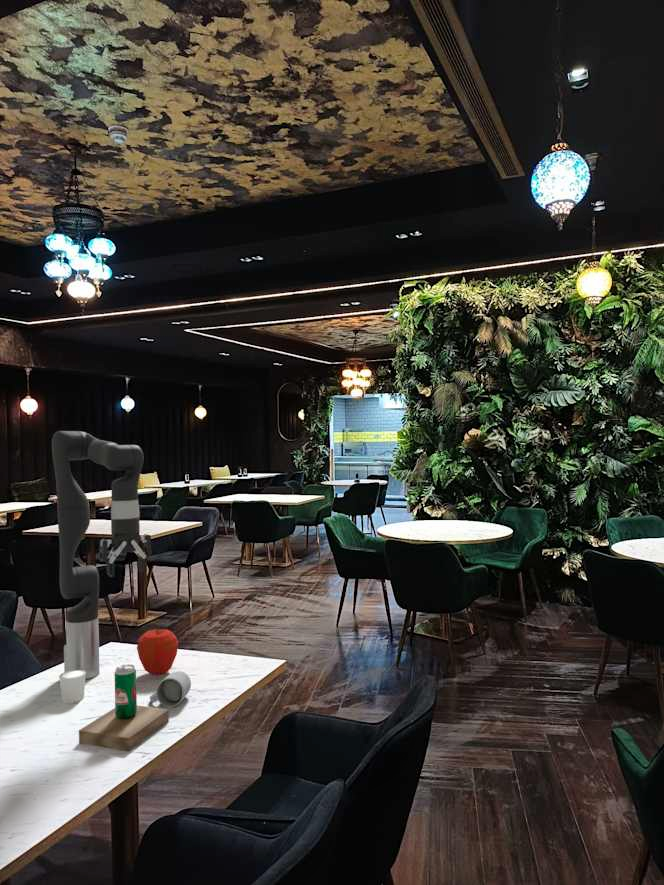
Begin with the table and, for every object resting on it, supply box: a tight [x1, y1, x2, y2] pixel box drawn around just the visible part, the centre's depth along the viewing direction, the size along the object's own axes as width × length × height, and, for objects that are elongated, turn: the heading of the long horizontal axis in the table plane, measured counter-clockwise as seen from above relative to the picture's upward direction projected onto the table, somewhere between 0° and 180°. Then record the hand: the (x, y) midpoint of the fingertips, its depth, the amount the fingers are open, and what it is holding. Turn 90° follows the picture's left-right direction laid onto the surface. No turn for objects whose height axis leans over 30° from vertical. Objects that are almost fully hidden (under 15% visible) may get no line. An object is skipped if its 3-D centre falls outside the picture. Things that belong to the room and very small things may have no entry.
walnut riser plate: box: [78, 704, 170, 752], centre depth 154 cm, size 14×16×3 cm
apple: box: [136, 627, 179, 676], centre depth 193 cm, size 12×12×14 cm
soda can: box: [114, 664, 138, 719], centre depth 157 cm, size 5×5×12 cm
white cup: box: [58, 670, 86, 704], centre depth 175 cm, size 7×7×7 cm
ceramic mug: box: [149, 670, 192, 708], centre depth 173 cm, size 11×8×8 cm
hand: (126, 574), depth 176 cm, fingers open, 8 cm apart
